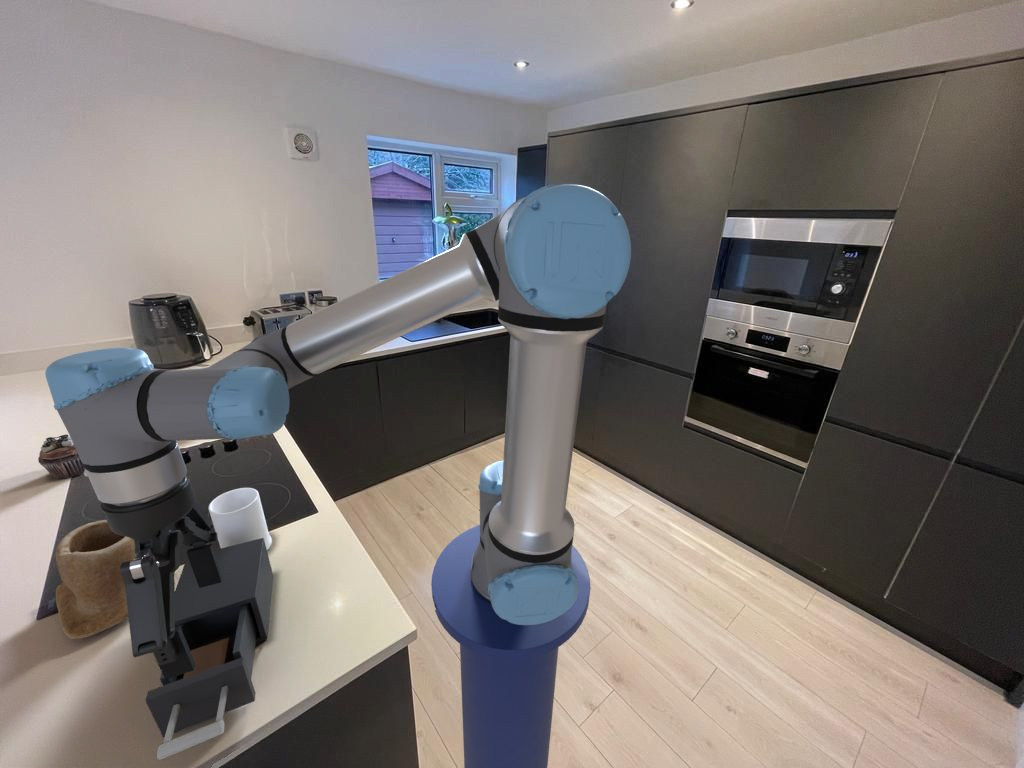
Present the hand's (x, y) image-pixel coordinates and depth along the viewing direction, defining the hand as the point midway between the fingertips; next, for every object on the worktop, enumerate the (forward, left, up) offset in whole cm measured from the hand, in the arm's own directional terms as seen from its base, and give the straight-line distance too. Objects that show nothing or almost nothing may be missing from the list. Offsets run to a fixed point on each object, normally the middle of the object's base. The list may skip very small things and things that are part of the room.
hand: (197, 622), depth 52 cm
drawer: (0, +2, -12) cm, 12 cm away
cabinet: (0, -12, -12) cm, 17 cm away
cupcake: (+44, -79, -13) cm, 91 cm away
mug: (-1, -30, -13) cm, 32 cm away
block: (0, +1, -10) cm, 10 cm away
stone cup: (+19, -24, -13) cm, 33 cm away
